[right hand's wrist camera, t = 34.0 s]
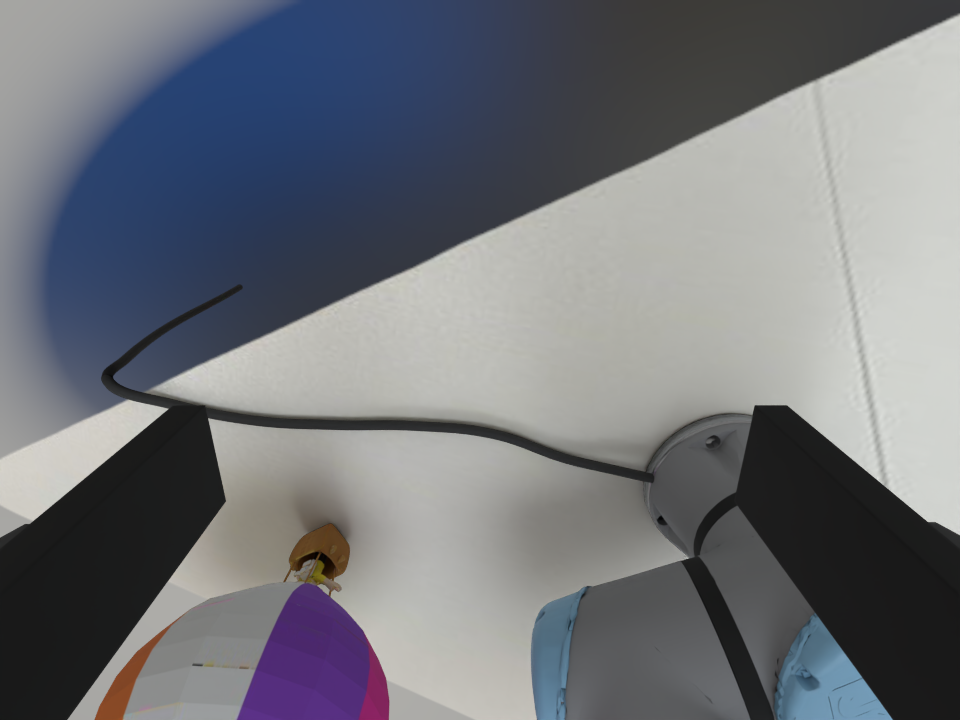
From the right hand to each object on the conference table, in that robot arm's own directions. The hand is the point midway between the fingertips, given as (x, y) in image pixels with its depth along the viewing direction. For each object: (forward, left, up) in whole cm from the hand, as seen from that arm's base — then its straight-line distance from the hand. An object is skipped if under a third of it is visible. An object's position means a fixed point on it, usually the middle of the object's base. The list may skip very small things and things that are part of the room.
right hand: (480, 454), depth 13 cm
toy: (-4, -35, -34) cm, 48 cm away
